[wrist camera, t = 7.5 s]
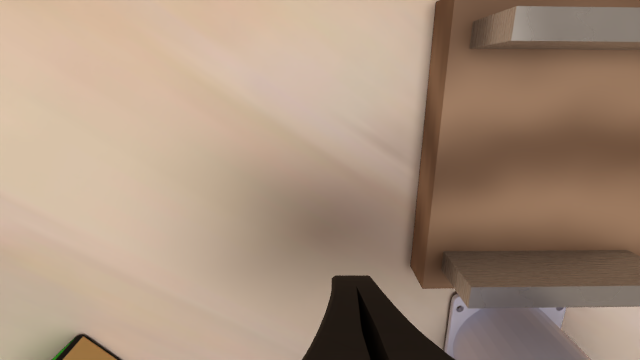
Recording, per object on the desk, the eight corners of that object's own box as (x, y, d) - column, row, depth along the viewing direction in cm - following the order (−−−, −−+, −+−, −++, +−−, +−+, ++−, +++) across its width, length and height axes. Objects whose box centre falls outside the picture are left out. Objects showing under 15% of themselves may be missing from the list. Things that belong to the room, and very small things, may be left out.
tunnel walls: (622, 267, 20) (685, 305, 17) (441, 269, 20) (467, 308, 16) (697, 24, 16) (799, 9, 13) (472, 21, 16) (516, 6, 12)
